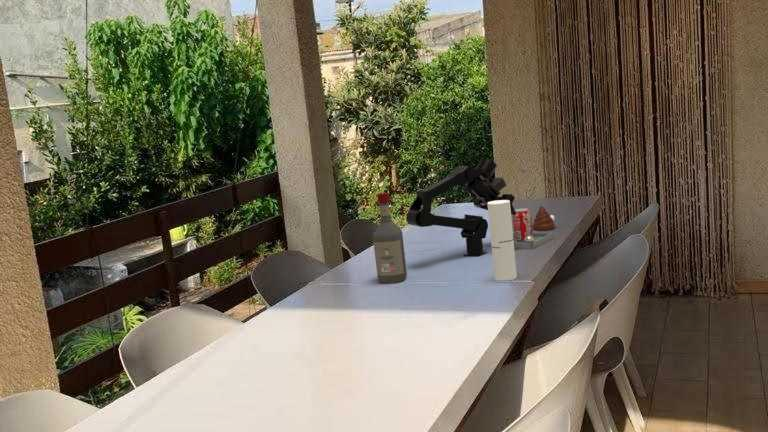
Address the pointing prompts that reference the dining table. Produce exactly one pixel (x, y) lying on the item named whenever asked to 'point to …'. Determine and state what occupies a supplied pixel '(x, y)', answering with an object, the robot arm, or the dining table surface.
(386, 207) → the liquor
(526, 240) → the steel mixing ball
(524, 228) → the soda can
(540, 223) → the poop emoji
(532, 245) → the gray tray
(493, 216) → the cylindrical container
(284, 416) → the dining table surface
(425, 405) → the dining table surface
